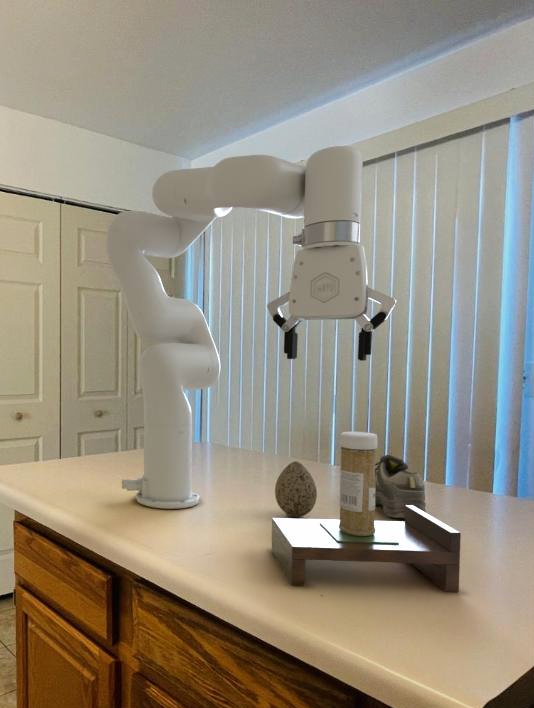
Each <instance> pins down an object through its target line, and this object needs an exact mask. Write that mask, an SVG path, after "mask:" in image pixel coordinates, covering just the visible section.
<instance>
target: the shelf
mask: <svg viewBox="0 0 534 708" xmlns="http://www.w3.org/2000/svg"><path fill="white" fill-rule="evenodd" d="M339 524H340V519H327V518H326V519H325V518H293V517H292V518H291V517H290V518H288V517H286V518H285V517H272V518H271V548H270V551H271V553H272V554H273V556H274V558H275V560H276V561H277V563H278V565H279V567H280V568H281V570H282V571H283V573H284V575H285V577H286V578H287V580H288V582H289V584H290V585H291V586H295V587H305V585H306V584H305V582H306V581H305V580H306V579H305V578H306V560H308V561H334V562H335V561H337V562H338V561H339V562H340V561H341V562H365V563H366V562H367V563H392V564H393V563H396V564H411V565H412V566H414V567H415V568H416V569H417V570H418V571H420V572H421V573H422V574H423V575H424V576H426V577H427V578H428V579H429V580H430V581H432V582H433V583H434V584H436V585H437V586H438V587H439V588H441V589H442V590H443V591H444V592H445V593H446V592H448V593H459V592H460V567H461V565H460V564H461V562H460V561H461V538H462V537H461V536H462V534H461V532H460V531H458V530H457V529H455V528H453V527H452V526H450V525H447V524H446V523H444V522H442V521H441V520H439V519H438V518H436V517H435V516H433V515H430V514H428V513H427V512H426V513H425V512H424V511H422V510H420V509H418V508H417V507H415V506H413V505H405V518H404V521H397V520H374V527H375V533H374V534H373V535H370V536H355V535H351V534H347V533H344V532H342V531H341V530H340V529H339Z"/></svg>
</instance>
